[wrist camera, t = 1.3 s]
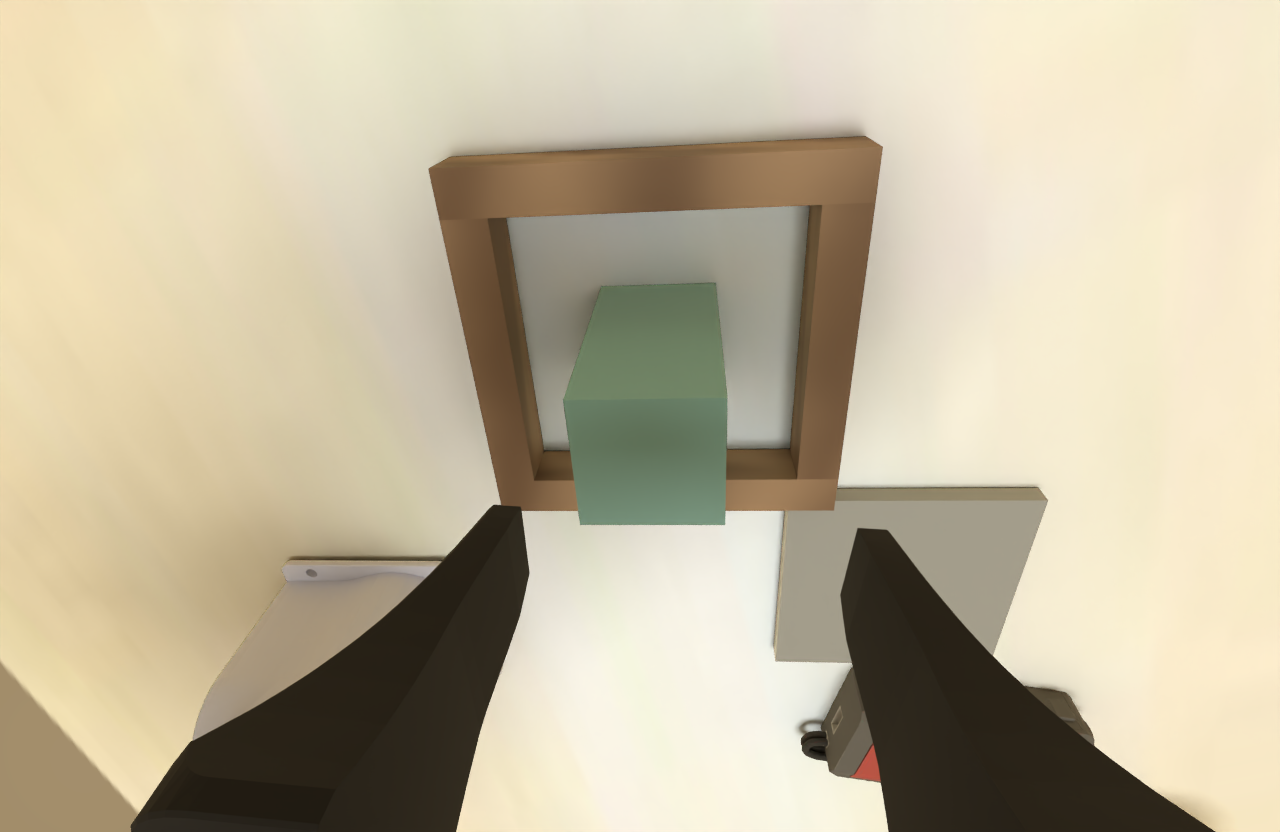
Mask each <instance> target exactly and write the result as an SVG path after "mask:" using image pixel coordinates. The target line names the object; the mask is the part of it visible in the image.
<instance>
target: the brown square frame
mask: <svg viewBox="0 0 1280 832" xmlns="http://www.w3.org/2000/svg"><path fill="white" fill-rule="evenodd" d="M882 149H883V147H882V146H880V145H879V144H877V143H876V142H874V141H872V140H871V139H869V138H868V137H866V136H862V137H841V138H821V139H801V140H780V141H760V142H740V143H720V144H699V145H679V146H659V147H639V148H618V149H598V150H578V151H558V152H537V153H517V154H497V155H477V156H456V157H449V158H447V159H445V160H443V161H442V162H440V163H438V164H436V165H434V166H432V167H431V168H429V174H430V178H431V183H432V188H433V192H434V197H435V201H436V206H437V211H438V215H439V220H440V224H441V229H442V234H443V238H444V243H445V247H446V252H447V257H448V261H449V266H450V270H451V275H452V280H453V284H454V289H455V293H456V298H457V303H458V307H459V312H460V317H461V321H462V326H463V330H464V335H465V340H466V344H467V349H468V353H469V358H470V363H471V367H472V372H473V376H474V381H475V386H476V390H477V395H478V399H479V404H480V409H481V413H482V418H483V422H484V427H485V432H486V436H487V441H488V445H489V450H490V455H491V459H492V464H493V468H494V473H495V478H496V482H497V487H498V491H499V496H500V501H501V505H504V506H519V507H521V511H578V505H577V498H576V490H575V483H574V476H573V468H572V461H571V454H570V451H544V447H543V441H542V435H541V429H540V423H539V417H538V410H537V404H536V398H535V392H534V386H533V380H532V374H531V368H530V361H529V355H528V349H527V343H526V337H525V331H524V325H523V318H522V312H521V306H520V300H519V294H518V288H517V282H516V276H515V269H514V263H513V257H512V251H511V245H510V239H509V233H508V226H507V220H506V218H509V217H533V216H558V215H582V214H607V213H632V212H656V211H681V210H705V209H730V208H755V207H779V206H804V205H810V209H809V221H808V234H807V246H806V258H805V270H804V283H803V295H802V307H801V319H800V331H799V344H798V356H797V368H796V380H795V392H794V405H793V417H792V429H791V441H790V449H746V450H727V451H726V503H725V511H834V507H835V500H836V492H837V485H838V477H839V470H840V462H841V455H842V447H843V440H844V433H845V425H846V418H847V410H848V403H849V395H850V388H851V380H852V373H853V365H854V358H855V350H856V343H857V336H858V328H859V321H860V313H861V306H862V298H863V291H864V283H865V276H866V268H867V261H868V253H869V246H870V239H871V231H872V224H873V216H874V209H875V201H876V194H877V186H878V179H879V171H880V164H881V156H882Z"/></svg>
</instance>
